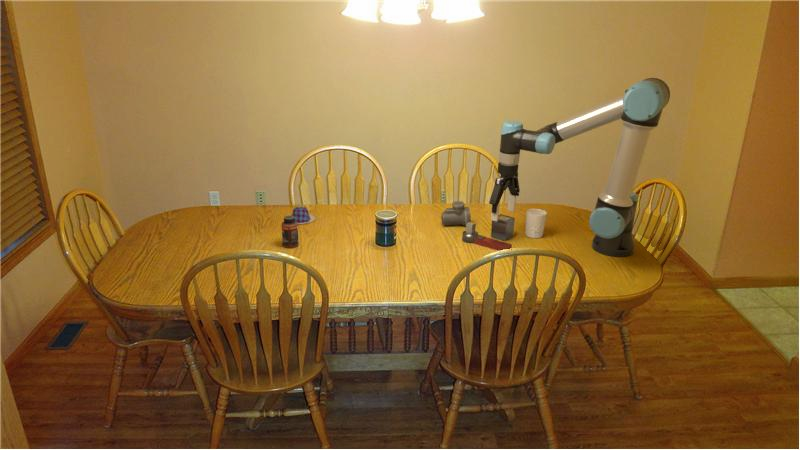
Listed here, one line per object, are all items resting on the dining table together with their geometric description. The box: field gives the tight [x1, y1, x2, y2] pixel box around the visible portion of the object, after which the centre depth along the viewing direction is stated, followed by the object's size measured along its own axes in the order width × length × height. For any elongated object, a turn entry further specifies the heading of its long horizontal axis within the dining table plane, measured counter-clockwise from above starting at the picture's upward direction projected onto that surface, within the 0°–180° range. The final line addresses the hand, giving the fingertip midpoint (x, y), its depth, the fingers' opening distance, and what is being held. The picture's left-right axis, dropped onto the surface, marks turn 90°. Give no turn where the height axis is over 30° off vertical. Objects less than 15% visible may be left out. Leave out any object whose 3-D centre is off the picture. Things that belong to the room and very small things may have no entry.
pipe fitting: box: [440, 200, 472, 227], centre depth 241 cm, size 12×8×10 cm
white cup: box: [525, 208, 548, 239], centre depth 232 cm, size 8×8×10 cm
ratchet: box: [461, 221, 513, 251], centre depth 222 cm, size 20×6×7 cm, turn 53°
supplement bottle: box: [281, 214, 300, 249], centre depth 217 cm, size 6×6×11 cm
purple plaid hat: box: [291, 206, 316, 225], centre depth 244 cm, size 12×12×5 cm
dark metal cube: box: [490, 213, 516, 242], centre depth 230 cm, size 6×6×8 cm
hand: (502, 215), depth 228 cm, fingers open, 13 cm apart
